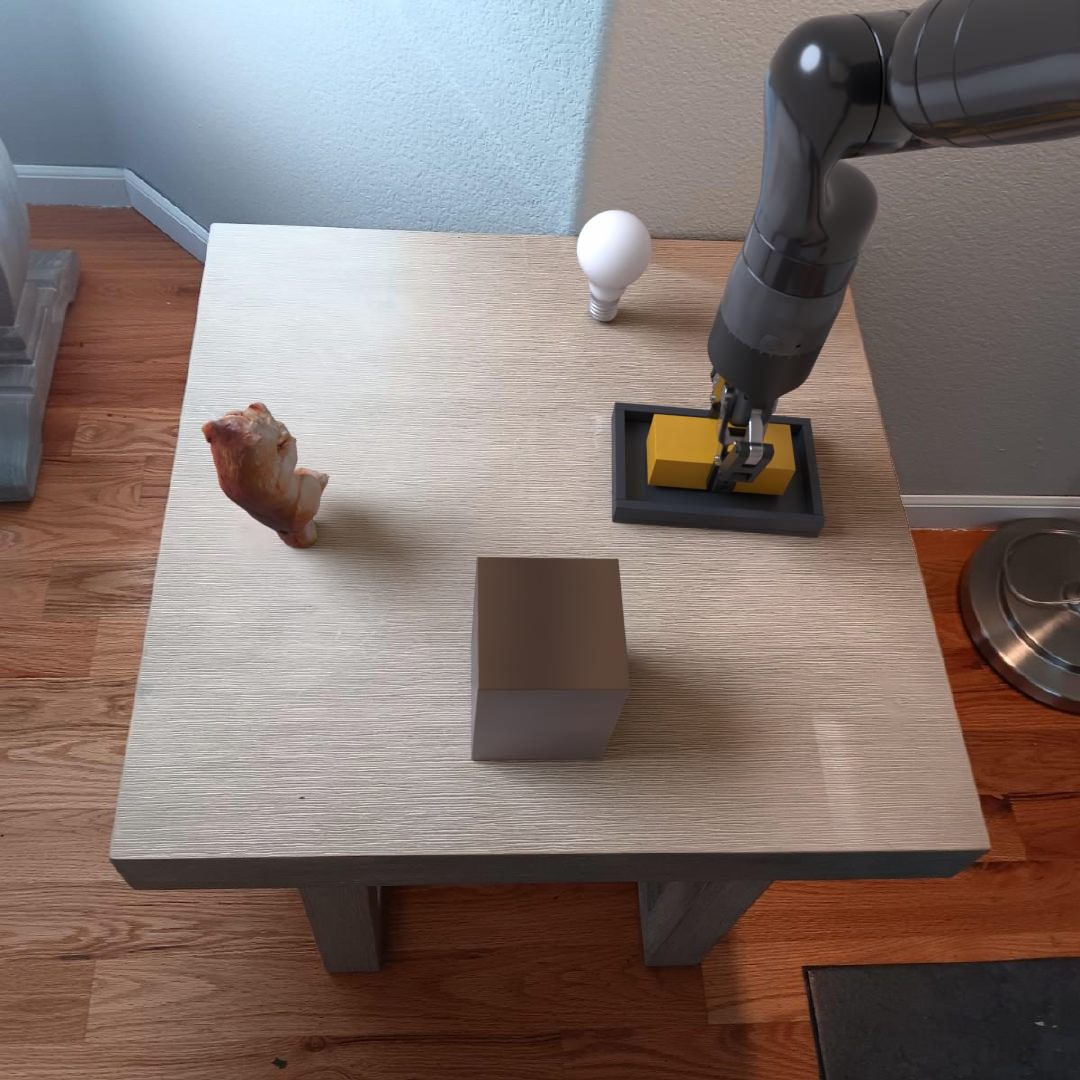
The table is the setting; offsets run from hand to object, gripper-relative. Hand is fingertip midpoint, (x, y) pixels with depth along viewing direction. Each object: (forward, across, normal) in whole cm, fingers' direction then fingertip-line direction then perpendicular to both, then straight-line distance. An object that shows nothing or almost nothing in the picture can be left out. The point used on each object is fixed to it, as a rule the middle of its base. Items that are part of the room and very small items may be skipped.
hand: (716, 461), depth 82 cm
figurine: (+2, -8, +33) cm, 35 cm away
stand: (+2, -21, +14) cm, 25 cm away
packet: (+1, 0, 0) cm, 1 cm away
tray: (+2, 0, 0) cm, 2 cm away
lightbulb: (+2, +17, +9) cm, 19 cm away
